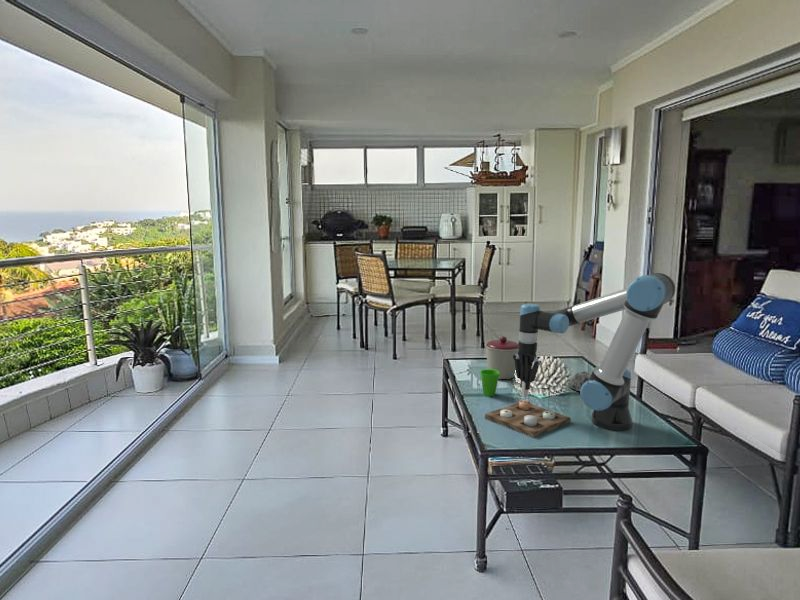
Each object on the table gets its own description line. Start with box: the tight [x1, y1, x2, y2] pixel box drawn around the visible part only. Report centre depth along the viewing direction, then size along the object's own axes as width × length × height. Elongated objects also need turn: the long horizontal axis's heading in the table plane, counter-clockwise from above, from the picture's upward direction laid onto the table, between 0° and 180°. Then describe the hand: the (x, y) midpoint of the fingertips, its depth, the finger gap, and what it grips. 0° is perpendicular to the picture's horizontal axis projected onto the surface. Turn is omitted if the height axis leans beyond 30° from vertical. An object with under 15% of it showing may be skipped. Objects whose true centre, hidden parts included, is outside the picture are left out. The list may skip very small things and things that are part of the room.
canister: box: [484, 335, 519, 380], centre depth 275 cm, size 18×18×21 cm
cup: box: [479, 368, 500, 397], centre depth 249 cm, size 9×9×11 cm
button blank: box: [524, 415, 537, 428], centre depth 211 cm, size 5×5×3 cm
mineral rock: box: [567, 370, 591, 392], centre depth 256 cm, size 13×11×10 cm
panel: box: [484, 401, 571, 438], centre depth 220 cm, size 24×24×2 cm
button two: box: [543, 410, 555, 421], centre depth 219 cm, size 5×5×3 cm
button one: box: [500, 410, 512, 419], centre depth 221 cm, size 5×5×3 cm
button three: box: [518, 399, 532, 412], centre depth 228 cm, size 5×5×3 cm
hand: (524, 396), depth 227 cm, fingers closed
